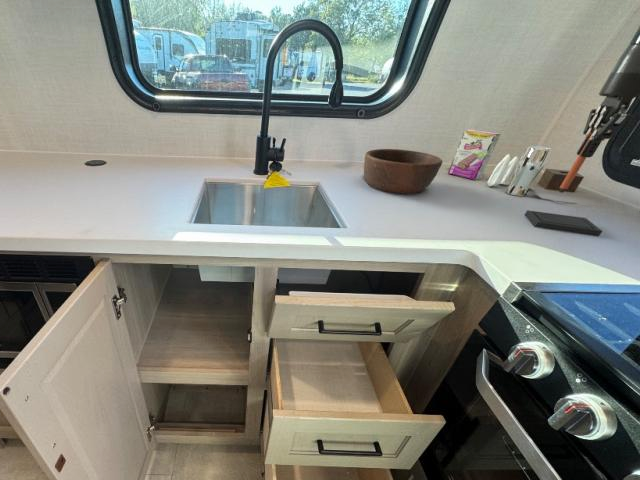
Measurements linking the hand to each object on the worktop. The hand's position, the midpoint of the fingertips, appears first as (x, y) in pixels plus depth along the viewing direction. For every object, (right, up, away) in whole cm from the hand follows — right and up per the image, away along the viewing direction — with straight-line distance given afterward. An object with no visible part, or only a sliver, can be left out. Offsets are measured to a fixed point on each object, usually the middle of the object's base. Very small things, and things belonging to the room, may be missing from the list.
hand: (583, 155), depth 79 cm
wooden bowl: (-30, +6, +37) cm, 48 cm away
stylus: (0, -7, +5) cm, 9 cm away
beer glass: (+11, +1, +32) cm, 34 cm away
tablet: (+3, -15, +9) cm, 18 cm away
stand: (+26, +2, +34) cm, 43 cm away
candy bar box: (+5, +14, +50) cm, 52 cm away
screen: (+3, -15, +9) cm, 18 cm away
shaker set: (+11, +7, +40) cm, 42 cm away
